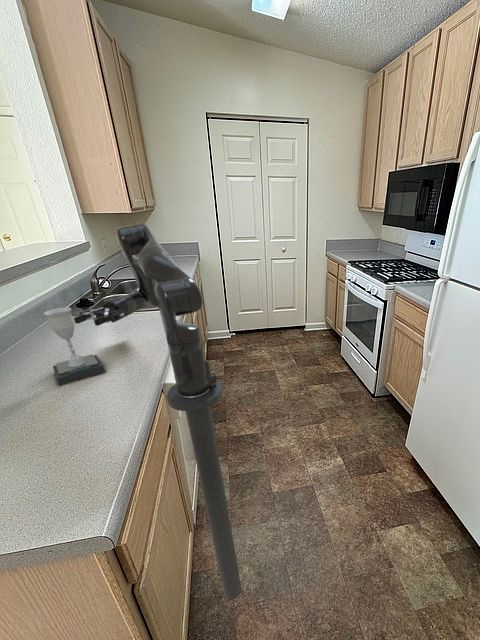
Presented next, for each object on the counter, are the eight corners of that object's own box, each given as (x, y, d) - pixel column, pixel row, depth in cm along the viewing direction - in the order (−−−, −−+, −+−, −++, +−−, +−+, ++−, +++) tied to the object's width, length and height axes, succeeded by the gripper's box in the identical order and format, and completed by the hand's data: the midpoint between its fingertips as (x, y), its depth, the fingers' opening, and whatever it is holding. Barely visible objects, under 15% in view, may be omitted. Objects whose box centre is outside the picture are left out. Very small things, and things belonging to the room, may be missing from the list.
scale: (98, 361, 118) (95, 353, 117) (105, 372, 111) (102, 363, 109) (55, 372, 111) (51, 364, 109) (59, 385, 103) (55, 376, 102)
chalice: (81, 356, 114) (63, 306, 106) (93, 360, 111) (76, 309, 103) (59, 365, 109) (38, 313, 100) (71, 369, 106) (51, 316, 97)
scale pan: (93, 355, 116) (92, 354, 116) (98, 364, 110) (98, 362, 110) (56, 365, 110) (55, 363, 110) (59, 375, 104) (58, 373, 104)
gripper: (102, 296, 125) (64, 309, 111) (134, 298, 122) (99, 312, 108) (108, 315, 129) (72, 330, 115) (139, 318, 125) (105, 334, 111)
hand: (85, 321), depth 111 cm, fingers open, 8 cm apart
